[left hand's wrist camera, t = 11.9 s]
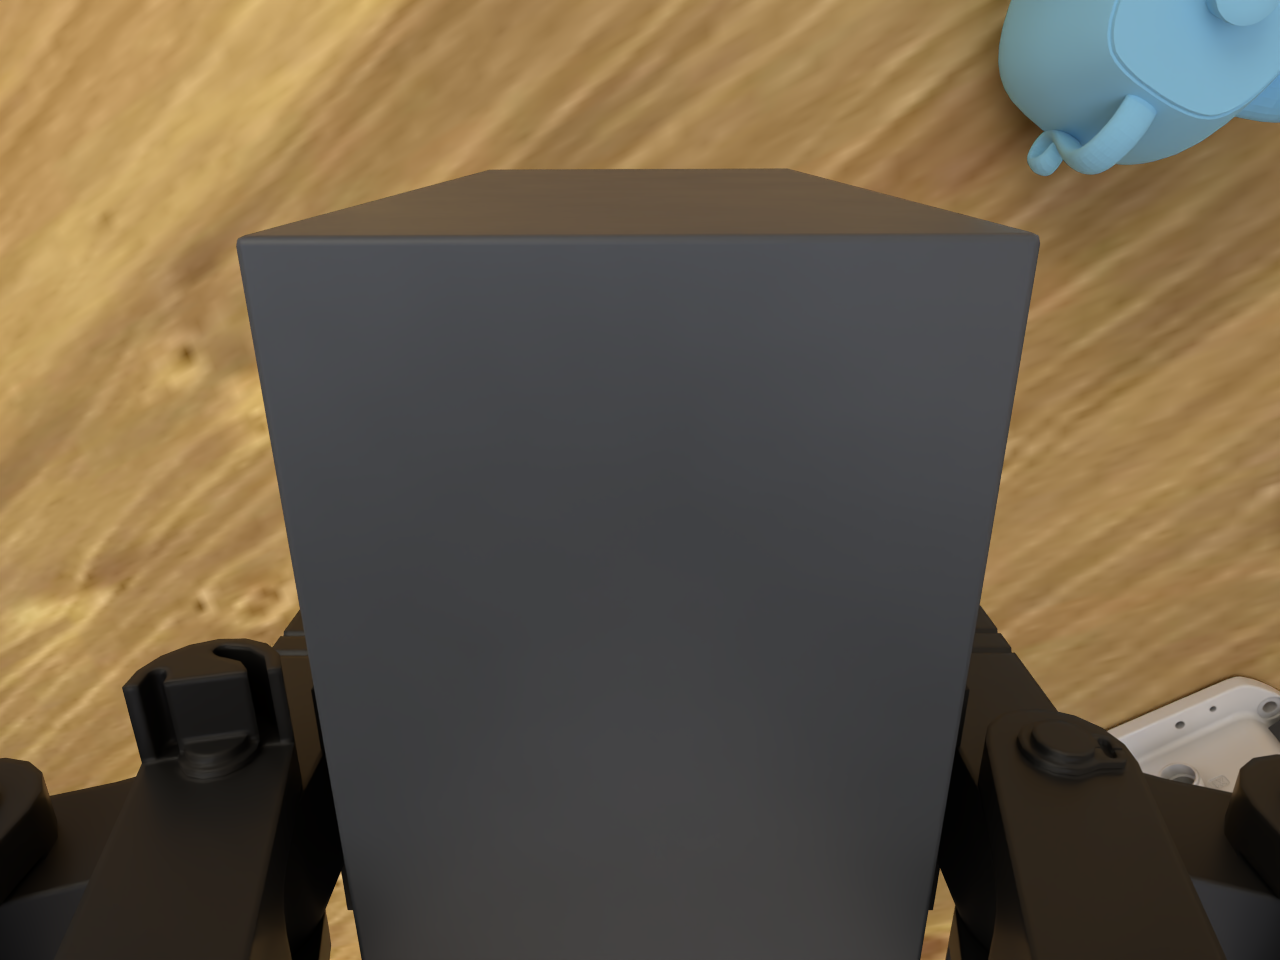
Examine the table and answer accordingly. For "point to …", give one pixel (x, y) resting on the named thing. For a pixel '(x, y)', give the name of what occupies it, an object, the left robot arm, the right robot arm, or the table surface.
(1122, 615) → the table surface
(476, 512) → the bar
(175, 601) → the table surface
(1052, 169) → the teapot
